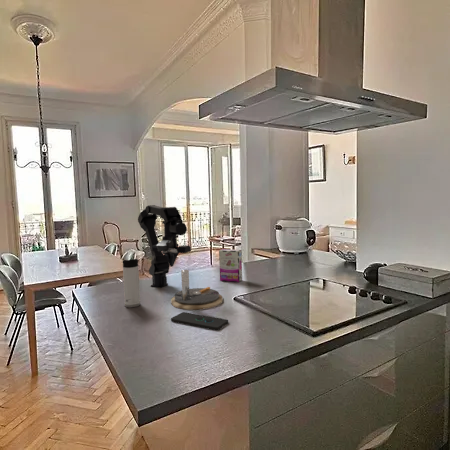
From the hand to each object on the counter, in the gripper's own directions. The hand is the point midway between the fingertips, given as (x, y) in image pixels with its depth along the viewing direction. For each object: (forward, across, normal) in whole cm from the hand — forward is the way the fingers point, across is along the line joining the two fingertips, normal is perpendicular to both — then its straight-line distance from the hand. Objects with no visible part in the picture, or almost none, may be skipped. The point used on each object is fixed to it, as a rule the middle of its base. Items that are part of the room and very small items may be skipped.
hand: (171, 266), depth 166 cm
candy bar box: (+12, +18, +28) cm, 35 cm away
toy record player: (+10, +19, -9) cm, 23 cm away
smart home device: (+13, +32, -30) cm, 46 cm away
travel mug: (+12, -4, -24) cm, 27 cm away
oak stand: (+12, +19, -9) cm, 24 cm away
